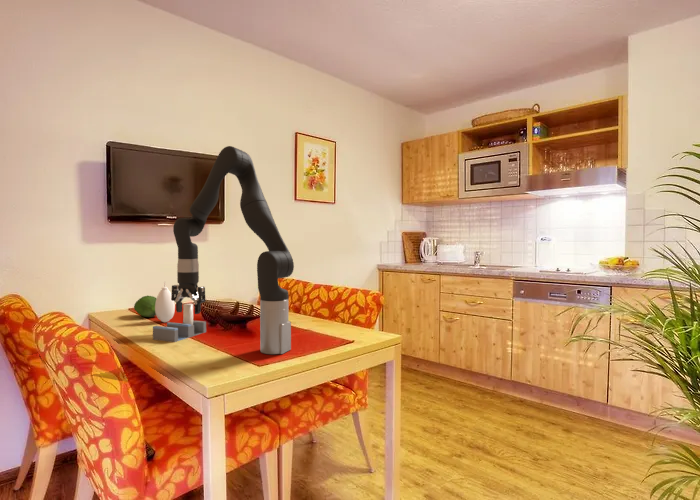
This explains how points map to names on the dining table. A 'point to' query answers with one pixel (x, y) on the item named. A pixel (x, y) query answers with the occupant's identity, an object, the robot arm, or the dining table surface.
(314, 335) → the dining table surface
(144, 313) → the fruit
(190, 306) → the white rectangular bar
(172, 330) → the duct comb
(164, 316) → the white egg candle
